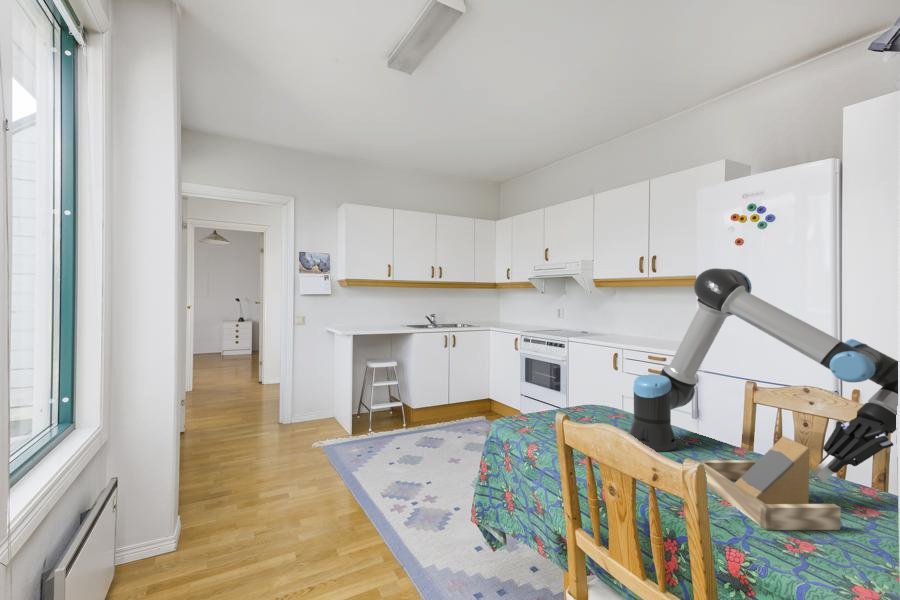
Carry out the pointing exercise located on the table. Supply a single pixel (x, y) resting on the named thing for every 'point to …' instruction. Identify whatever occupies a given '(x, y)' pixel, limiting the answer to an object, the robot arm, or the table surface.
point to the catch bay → (767, 513)
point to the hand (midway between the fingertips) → (817, 477)
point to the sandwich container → (780, 474)
